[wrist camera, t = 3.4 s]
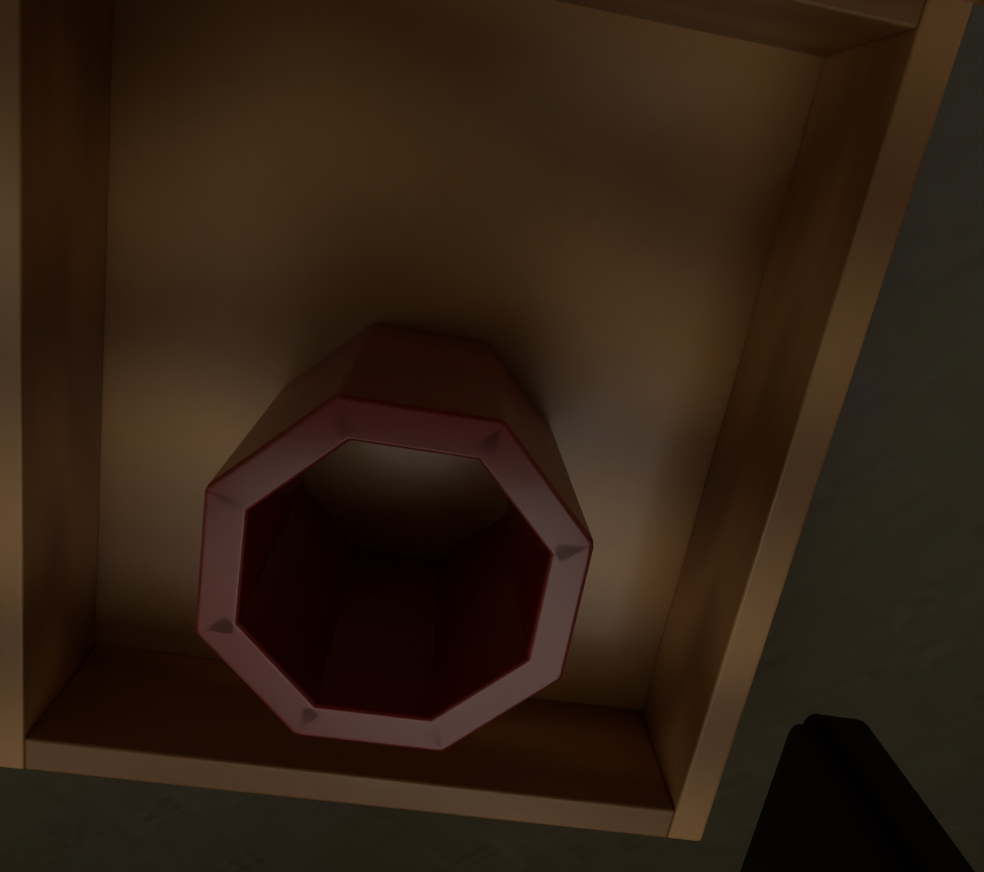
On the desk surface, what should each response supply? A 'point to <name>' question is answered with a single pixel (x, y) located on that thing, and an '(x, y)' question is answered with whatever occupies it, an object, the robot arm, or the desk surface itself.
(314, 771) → the chest
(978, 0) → the lid
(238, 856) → the desk surface
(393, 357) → the red octagonal tube
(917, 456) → the desk surface
